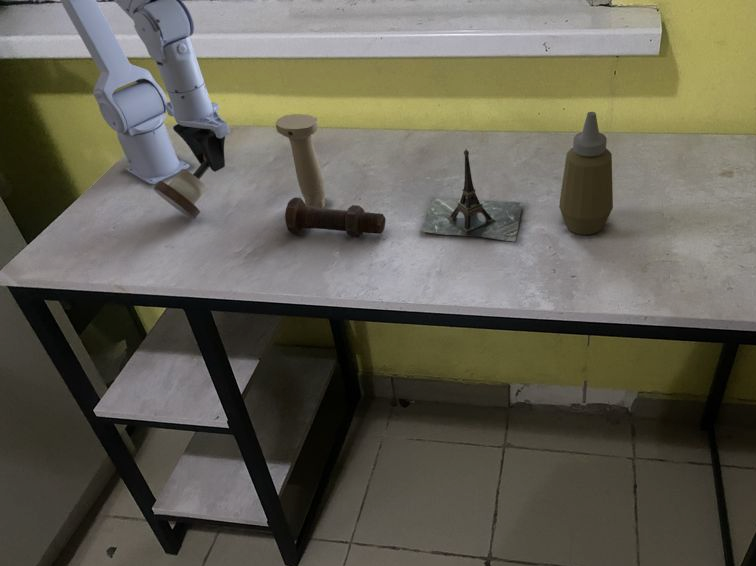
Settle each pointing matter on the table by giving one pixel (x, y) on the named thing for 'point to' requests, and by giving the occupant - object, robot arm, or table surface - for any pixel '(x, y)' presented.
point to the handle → (304, 156)
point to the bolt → (332, 219)
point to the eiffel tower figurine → (473, 214)
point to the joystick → (184, 190)
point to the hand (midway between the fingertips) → (213, 165)
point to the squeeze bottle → (587, 181)
